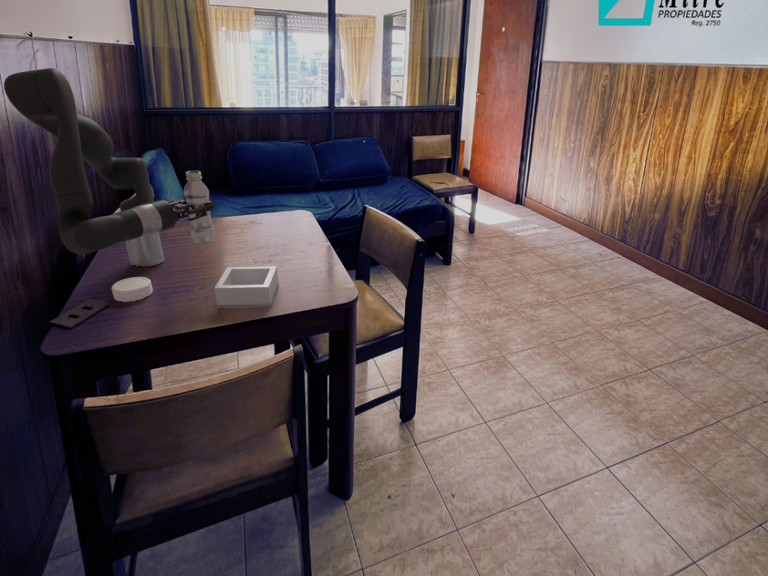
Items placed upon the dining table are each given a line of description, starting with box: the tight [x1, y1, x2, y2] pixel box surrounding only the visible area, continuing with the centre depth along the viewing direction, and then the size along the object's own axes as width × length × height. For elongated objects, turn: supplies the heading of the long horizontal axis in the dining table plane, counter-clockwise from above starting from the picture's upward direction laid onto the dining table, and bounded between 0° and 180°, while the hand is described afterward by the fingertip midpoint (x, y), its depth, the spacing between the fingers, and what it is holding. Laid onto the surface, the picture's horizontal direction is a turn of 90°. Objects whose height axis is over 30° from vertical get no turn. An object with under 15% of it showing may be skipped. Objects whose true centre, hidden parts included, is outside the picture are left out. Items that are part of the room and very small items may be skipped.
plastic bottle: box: [182, 170, 217, 245], centre depth 132 cm, size 6×7×20 cm
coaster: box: [111, 276, 153, 303], centre depth 135 cm, size 10×10×4 cm
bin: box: [213, 265, 280, 309], centre depth 133 cm, size 14×14×6 cm
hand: (205, 203), depth 134 cm, fingers closed on plastic bottle, 6 cm apart
